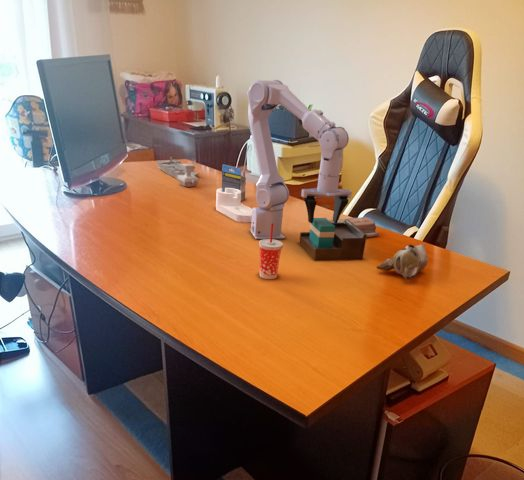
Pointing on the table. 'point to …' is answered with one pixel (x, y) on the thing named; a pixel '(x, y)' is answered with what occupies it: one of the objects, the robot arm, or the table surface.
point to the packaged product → (363, 225)
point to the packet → (322, 233)
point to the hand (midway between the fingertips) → (322, 222)
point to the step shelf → (338, 243)
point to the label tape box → (233, 180)
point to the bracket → (232, 205)
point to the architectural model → (172, 167)
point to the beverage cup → (269, 256)
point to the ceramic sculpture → (407, 261)
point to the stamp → (187, 176)
